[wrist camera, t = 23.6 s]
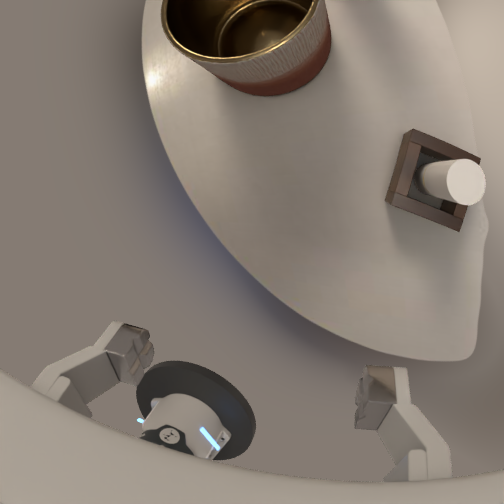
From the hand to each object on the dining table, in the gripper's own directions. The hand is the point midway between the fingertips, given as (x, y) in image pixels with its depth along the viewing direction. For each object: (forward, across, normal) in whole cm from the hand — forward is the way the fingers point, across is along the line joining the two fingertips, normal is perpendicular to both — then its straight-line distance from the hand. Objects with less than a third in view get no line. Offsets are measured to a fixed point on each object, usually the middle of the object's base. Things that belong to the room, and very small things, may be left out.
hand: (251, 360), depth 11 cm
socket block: (+35, -16, +2) cm, 38 cm away
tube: (+35, -16, +2) cm, 39 cm away
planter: (+41, +7, -15) cm, 44 cm away
